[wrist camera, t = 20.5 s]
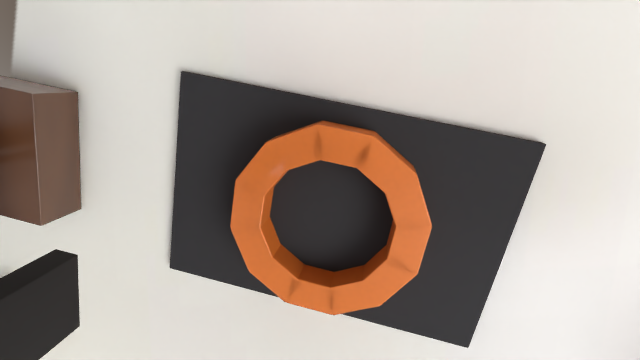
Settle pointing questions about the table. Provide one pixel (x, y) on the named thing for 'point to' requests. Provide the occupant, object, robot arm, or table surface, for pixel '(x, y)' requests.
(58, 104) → the post
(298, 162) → the ring
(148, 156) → the table surface
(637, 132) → the table surface
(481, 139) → the mat
